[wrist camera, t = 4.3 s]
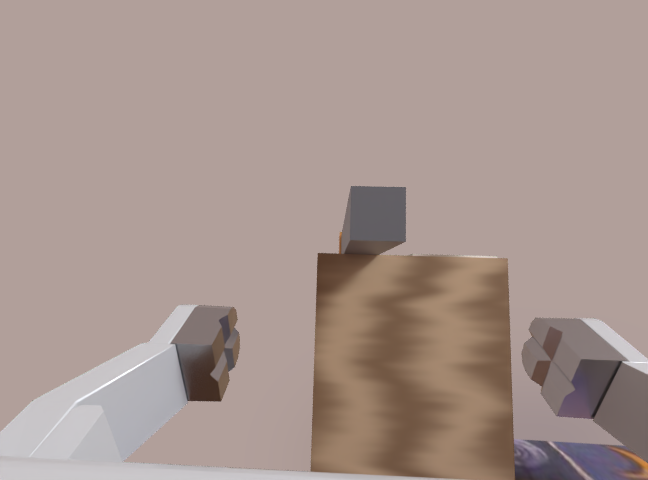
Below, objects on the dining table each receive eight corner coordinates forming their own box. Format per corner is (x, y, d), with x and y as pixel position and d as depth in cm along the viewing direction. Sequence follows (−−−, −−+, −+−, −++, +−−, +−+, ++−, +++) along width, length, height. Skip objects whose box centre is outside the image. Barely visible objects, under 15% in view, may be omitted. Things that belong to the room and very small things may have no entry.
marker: (364, 262, 34) (364, 236, 34) (408, 241, 14) (408, 180, 14) (338, 261, 34) (339, 236, 34) (346, 240, 14) (347, 179, 14)
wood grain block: (449, 535, 31) (446, 262, 34) (522, 696, 19) (507, 255, 22) (315, 527, 31) (323, 259, 34) (303, 680, 20) (317, 250, 22)
